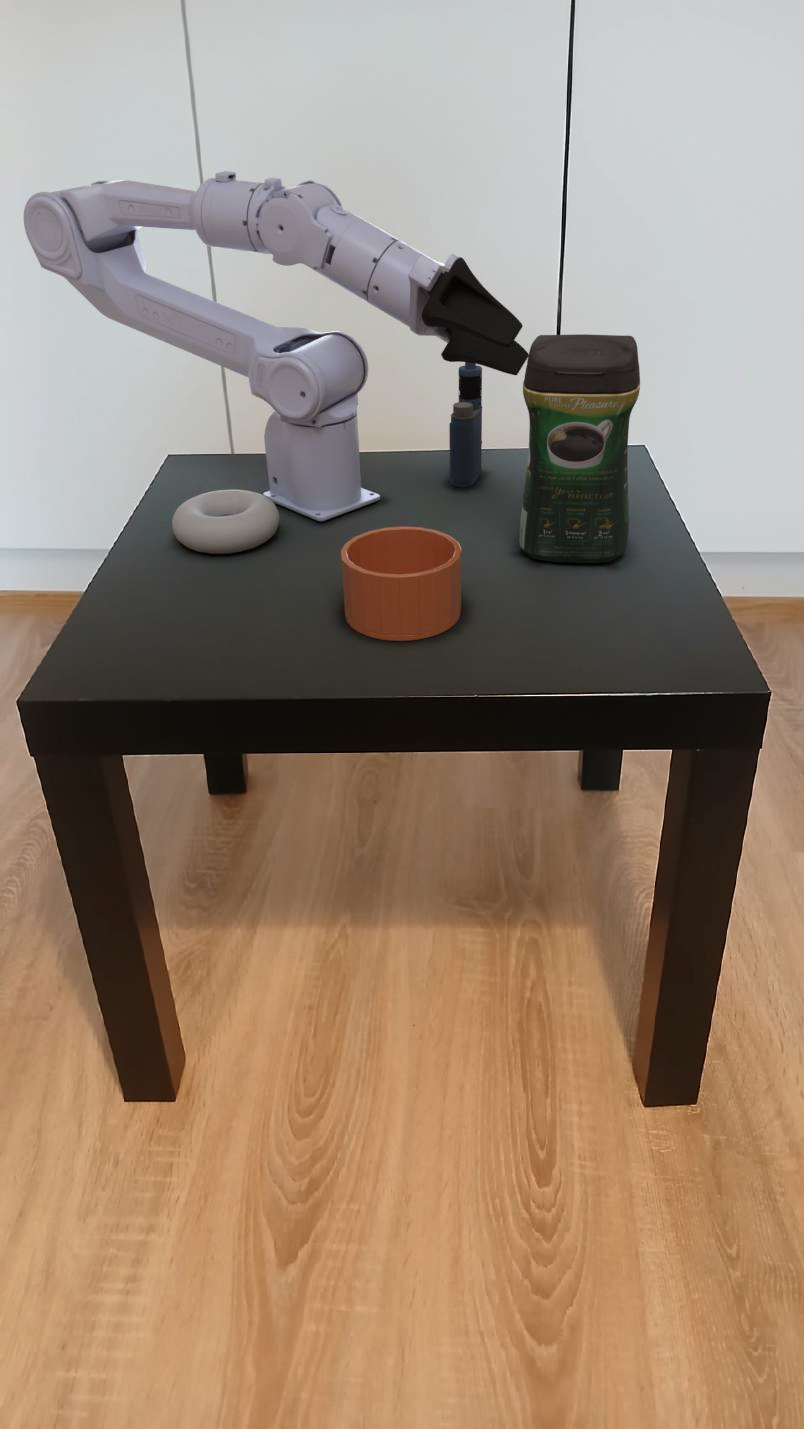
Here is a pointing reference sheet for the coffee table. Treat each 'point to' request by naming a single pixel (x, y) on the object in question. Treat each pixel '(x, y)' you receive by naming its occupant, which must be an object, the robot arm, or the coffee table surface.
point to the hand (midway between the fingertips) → (519, 351)
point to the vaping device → (466, 428)
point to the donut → (225, 521)
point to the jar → (402, 583)
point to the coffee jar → (578, 446)
